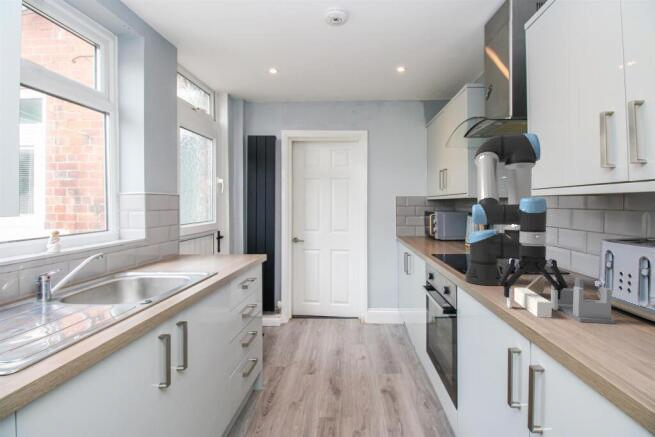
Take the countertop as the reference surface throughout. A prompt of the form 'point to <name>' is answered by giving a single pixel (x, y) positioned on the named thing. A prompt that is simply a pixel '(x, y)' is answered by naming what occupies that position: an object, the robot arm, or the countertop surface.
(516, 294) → the rail
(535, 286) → the stone
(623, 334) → the countertop surface
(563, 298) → the bracket stand
